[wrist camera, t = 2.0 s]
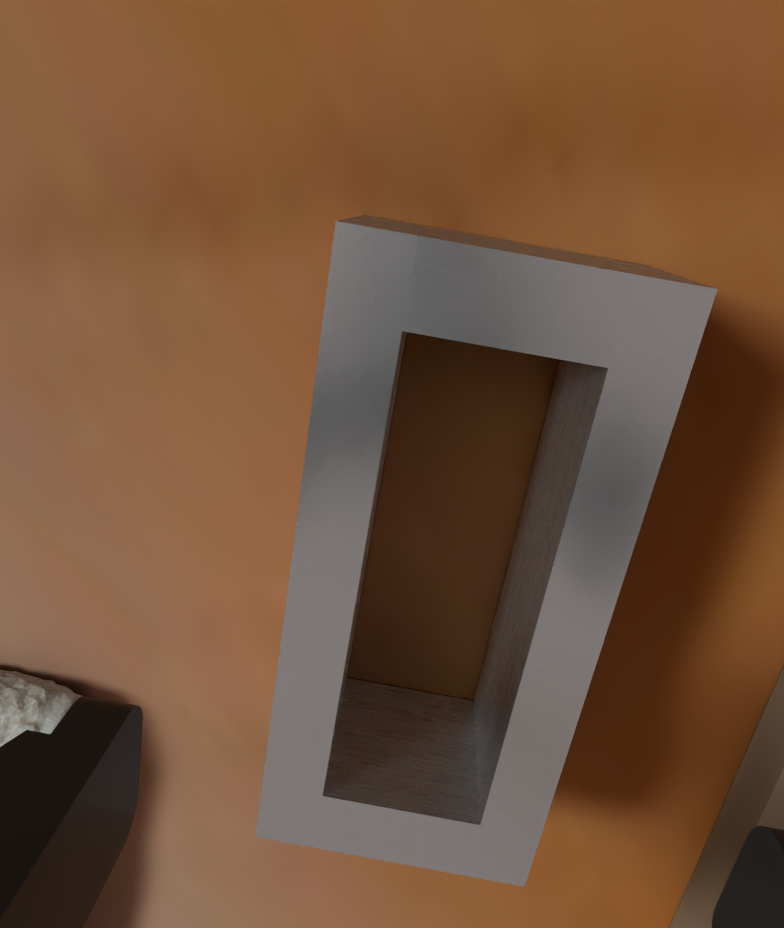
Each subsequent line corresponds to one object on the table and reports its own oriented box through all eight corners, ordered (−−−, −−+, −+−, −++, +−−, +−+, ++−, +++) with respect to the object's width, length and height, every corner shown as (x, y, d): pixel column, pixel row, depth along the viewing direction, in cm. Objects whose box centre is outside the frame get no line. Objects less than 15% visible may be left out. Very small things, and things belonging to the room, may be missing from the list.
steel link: (363, 214, 15) (335, 221, 11) (648, 266, 15) (717, 288, 11) (291, 714, 19) (255, 836, 16) (509, 754, 19) (524, 886, 16)
